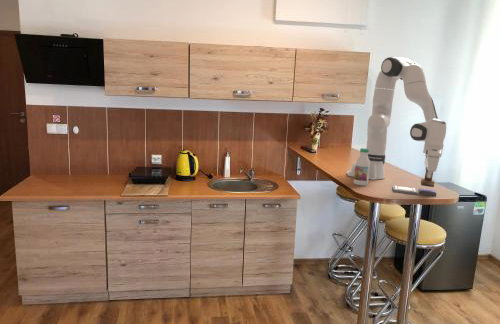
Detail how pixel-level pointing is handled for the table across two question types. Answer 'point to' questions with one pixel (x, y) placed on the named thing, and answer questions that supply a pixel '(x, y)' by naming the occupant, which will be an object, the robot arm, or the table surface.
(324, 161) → the table surface
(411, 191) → the board
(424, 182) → the stamp
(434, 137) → the robot arm
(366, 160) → the milk bottle
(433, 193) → the ink pad
